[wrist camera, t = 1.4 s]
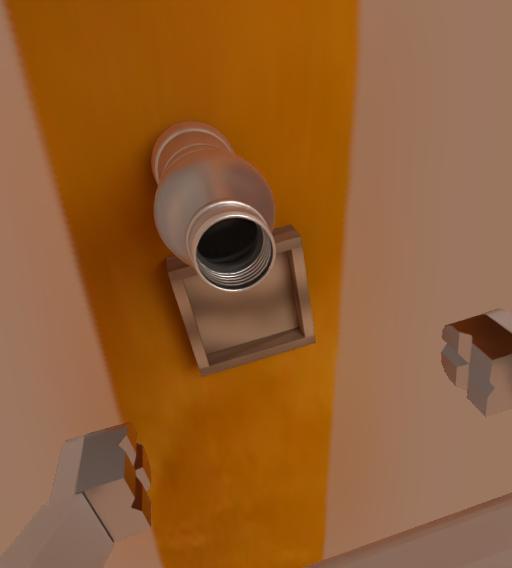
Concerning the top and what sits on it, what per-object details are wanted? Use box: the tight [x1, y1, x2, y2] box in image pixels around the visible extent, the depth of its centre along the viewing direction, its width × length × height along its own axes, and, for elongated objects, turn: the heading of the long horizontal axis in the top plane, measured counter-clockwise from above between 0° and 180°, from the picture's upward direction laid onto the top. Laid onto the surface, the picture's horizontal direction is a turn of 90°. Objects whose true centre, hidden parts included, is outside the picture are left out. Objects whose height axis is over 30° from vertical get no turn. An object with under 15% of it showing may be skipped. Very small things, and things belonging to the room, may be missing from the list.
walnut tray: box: [166, 225, 316, 376], centre depth 41 cm, size 12×12×3 cm
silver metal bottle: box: [151, 121, 276, 293], centre depth 26 cm, size 6×7×20 cm
